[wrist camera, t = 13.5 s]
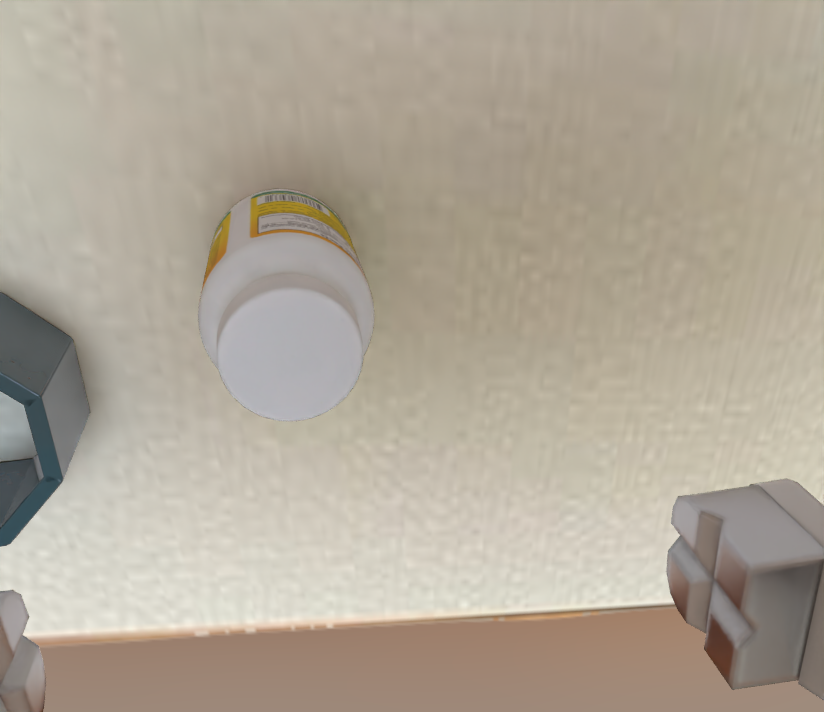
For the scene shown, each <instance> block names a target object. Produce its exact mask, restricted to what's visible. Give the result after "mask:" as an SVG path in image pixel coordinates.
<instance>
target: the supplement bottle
mask: <svg viewBox="0 0 824 712" xmlns="http://www.w3.org/2000/svg"><path fill="white" fill-rule="evenodd" d="M198 320H199V330H200V335H201V339H202V342H203V345H204V347H205V350H206V352H207V354H208V356H209V357H210V359H211V361H212V362H213V363H214V365H215V366H216V367H217V368H218V370H219V372H220V375H221V378H222V380H223V383H224V384H225V386H226V388H227V389H228V391H229V392H230V394H231V395H232V396H233V397H234V398H235V399H236V400H237V401H238V402H239V403H240V404H241V405H242V406H243V407H245V408H247V409H248V410H250V411H252V412H254V413H256V414H258V415H260V416H262V417H265V418H268V419H273V420H278V421H301V420H306V419H310V418H313V417H316V416H319V415H321V414H323V413H325V412H327V411H329V410H331V409H332V408H334V407H335V406H336V405H338V404H339V403H340V402H341V401H342V400H343V399H344V398H345V397H346V396H347V395H348V394H349V393H350V391H351V390H352V389H353V387H354V385H355V383H356V381H357V380H358V377H359V375H360V372H361V368H362V364H363V356H364V355H365V353H366V350H367V348H368V346H369V343H370V341H371V337H372V333H373V328H374V304H373V298H372V294H371V291H370V288H369V285H368V282H367V280H366V277H365V274H364V272H363V269H362V267H361V264H360V262H359V260H358V258H357V255H356V253H355V250H354V247H353V245H352V242H351V239H350V236H349V234H348V232H347V230H346V228H345V227H344V225H343V223H342V221H341V220H340V219H339V217H338V216H337V215H336V214H335V213H334V212H333V211H332V210H331V209H330V208H329V207H328V206H327V205H326V204H324V203H323V202H321V201H320V200H318V199H316V198H315V197H313V196H311V195H308V194H305V193H303V192H299V191H295V190H289V189H271V190H266V191H261V192H258V193H255V194H253V195H250V196H248V197H246V198H244V199H243V200H241V201H240V202H238V203H237V204H235V205H234V206H233V207H232V208H231V209H230V210H229V211H228V212H227V213H226V214H225V216H224V217H223V218H222V220H221V221H220V223H219V225H218V227H217V229H216V231H215V234H214V237H213V240H212V244H211V248H210V253H209V258H208V263H207V268H206V272H205V277H204V282H203V287H202V291H201V296H200V302H199V311H198Z"/></svg>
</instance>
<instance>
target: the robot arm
mask: <svg viewBox="0 0 824 712" xmlns="http://www.w3.org/2000/svg"><path fill="white" fill-rule="evenodd" d="M671 524H672V525H673V526H674V528H675V529H676V530H677V531H678V533H679V534H680V537H679V538H678V539H677V540H676V542H675V543H674V544H673V545H672V546H671V548H670V549H669V550H668V557H667V577H668V583H669V588H670V593H671V595H672V598H673V600H674V602H675V605H676V607H677V609H678V611H679V612H680V614H681V615H682V617H683V618H684V620H685V621H686V623H688V624H690V625H691V626H693V627H695V628H697V629H699V630H701V631H702V632H704V633H706V638H705V646H704V649H705V651H706V652H707V654H708V655H709V657H710V658H711V660H712V661H713V662H714V664H715V665H716V666H717V668H718V670H719V671H720V673H721V674H722V676H723V677H724V678H725V680H726V681H727V683H728V684H729V686H730V687H731V689H732V690H735V689H741V688H748V687H755V686H762V685H769V684H775V683H782V682H789V681H796V680H799V682H798V683H799V684H800V685H801V686H803V687H804V688H806V689H807V690H809V691H810V692H812V693H813V694H815V695H816V696H818V697H819V698H821V699H822V700H824V506H823V505H822V504H821V503H820V502H819V501H818V500H817V499H816V498H814V497H813V496H812V495H811V494H810V493H809V492H808V491H807V490H805V489H804V488H803V487H802V486H801V485H800V484H799V483H798V482H795V481H793V480H790V479H787V478H786V479H780V480H774V481H768V482H762V483H756V484H751V485H750V486H746V487H739V488H732V489H725V490H719V491H712V492H705V493H698V494H691V495H684V496H678V498H677V500H676V502H675V504H674V506H673V511H672V519H671ZM28 619H29V615H28V612H27V609H26V607H25V604H24V601H23V599H22V596H21V594H19V593H17V592H15V591H13V590H8V591H0V712H43V709H44V700H45V687H46V678H45V670H44V662H43V659H42V656H41V652H40V649H39V646H38V645H36V644H35V643H34V642H32V641H31V640H29V639H28V638H26V637H25V636H23V635H22V634H23V632H24V629H25V626H26V624H27V621H28Z"/></svg>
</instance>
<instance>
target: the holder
mask: <svg viewBox="0 0 824 712" xmlns="http://www.w3.org/2000/svg"><path fill="white" fill-rule="evenodd" d="M0 391H1V392H3V393H4V394H6V395H8V396H10V397H11V398H13V399H15V400H16V401H18V402H20V403H21V404H23V405H24V407H25V411H26V414H27V418H28V422H29V425H30V429H31V433H32V436H33V440H34V443H35V447H36V451H37V455H36V456H35V457H34V458H33V459H27V460H19V461H11V462H3V463H0V546H7V545H8V544H11V543H12V541H13V540H14V539H15V538H16V537H17V535H18V534H19V533H20V532H21V531H22V530H23V528H24V527H25V526H26V525H27V524H28V522H29V521H30V520H31V519H32V518H33V516H34V515H35V514H36V513H37V512H38V511H39V509H40V508H41V507H42V506H43V505H44V503H45V502H46V501H47V500H48V499H49V497H50V496H51V495H52V494H53V493H54V492H55V490H56V489H57V488H58V487H59V486H60V484H61V483H62V482H63V480H64V477H65V475H66V472H67V470H68V467H69V465H70V462H71V460H72V457H73V455H74V452H75V450H76V447H77V445H78V442H79V440H80V437H81V435H82V432H83V430H84V427H85V425H86V422H87V420H88V417H89V414H90V409H89V405H88V401H87V397H86V392H85V388H84V384H83V380H82V376H81V371H80V367H79V363H78V359H77V354H76V350H75V346H74V342H73V339H72V338H71V337H70V336H68V335H67V334H65V333H64V332H62V331H60V330H59V329H57V328H56V327H54V326H53V325H51V324H50V323H48V322H46V321H45V320H43V319H42V318H40V317H39V316H37V315H36V314H34V313H32V312H31V311H29V310H28V309H26V308H25V307H23V306H21V305H20V304H18V303H17V302H15V301H14V300H12V299H11V298H9V297H7V296H6V295H4V294H3V293H1V292H0Z"/></svg>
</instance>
